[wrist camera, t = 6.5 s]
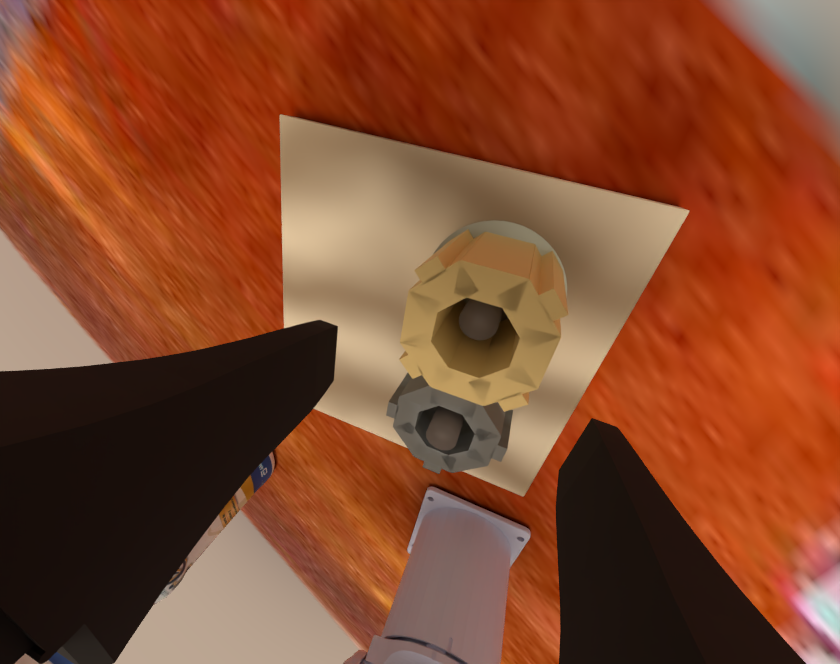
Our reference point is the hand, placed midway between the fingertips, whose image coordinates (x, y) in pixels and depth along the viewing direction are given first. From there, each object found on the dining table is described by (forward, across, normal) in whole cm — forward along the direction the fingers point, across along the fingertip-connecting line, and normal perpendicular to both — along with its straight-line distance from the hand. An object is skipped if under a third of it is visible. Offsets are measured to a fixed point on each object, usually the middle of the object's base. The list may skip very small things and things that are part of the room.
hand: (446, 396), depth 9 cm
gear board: (+10, +3, +4) cm, 11 cm away
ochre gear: (+8, 0, 0) cm, 8 cm away
